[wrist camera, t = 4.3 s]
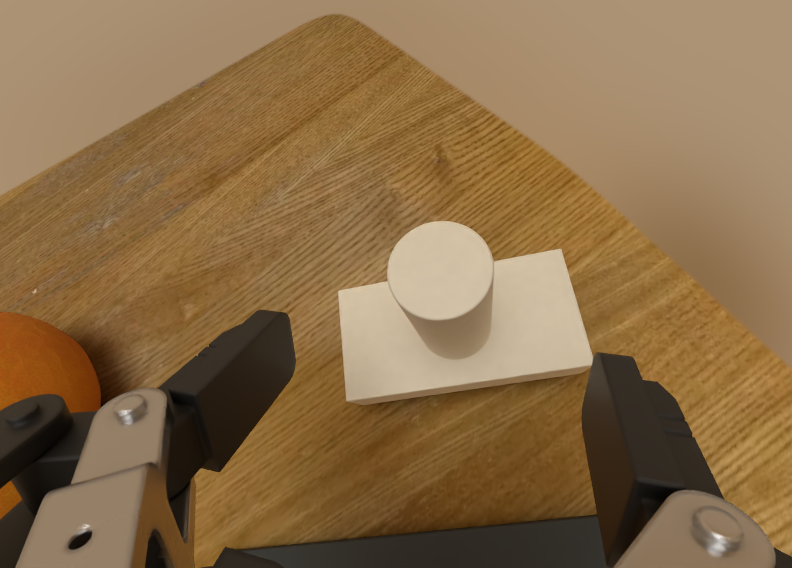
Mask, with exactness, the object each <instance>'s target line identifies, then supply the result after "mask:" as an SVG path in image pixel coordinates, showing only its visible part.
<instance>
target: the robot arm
mask: <svg viewBox="0 0 792 568" xmlns="http://www.w3.org/2000/svg"><path fill="white" fill-rule="evenodd" d="M295 363H296V358H295V351H294V345H293V338H292V332H291V325H290V320H289V317H288V315H287V314H286V313H283V312H275V311H267V310H258V311H256V312H255V313H254V314H253V315H252V316H251V317H249V318H248V319H247V320H246V321H245V322H244V323H243V324H241V325H238V326H236V327H234V328H232V329H230V330H228V331H226V332H224V333H222V334H221V335H220V336H218V337H217V338H216V339H215V340H214V341H213V342H211V343H210V344H209V347H206V348H204V349H203V350H202V351H201V352H200V353H199V354H198V356H195V357H194V358H193V359H192V360H190V361H189V362H188V363H187V364H186V365H184V366H183V367H182V368H181V369H180V370H179V371H177V372H176V373H175V374H174V375H173V376H172V377H170V378H169V379H168V380H167V381H166V382H165V383H163V384H162V385H161V386H160V387H159V388H158V389H156V388H141V389H136V390H132V391H129V392H126V393H124V394H121V395H119V396H117V397H115V398H113V399H112V400H110V401H109V402H107V403H106V404H105V405H103V406H102V407H101V408H100V409H99V410H98V411H89V412H75V413H70V411H69V409H68V407H67V405H66V403H65V401H64V399H63V398H62V397H61V396H59V395H56V394H43V395H37V396H33V397H29V398H26V399H23V400H20V401H18V402H16V403H13V404H11V405H9V406H7V407H6V408H4V409H2V410H1V411H0V489H1V488H2V487H3V486H5V485H6V484H7V483H8V482H9V481H11V482H12V483H13V485H14V486H15V488H16V490H17V491H18V493H19V495H20V496H21V498H22V500H21V501H20V502H19V503H18V504H17V505H16V506H15V507H14V508H12V509H11V510H10V511H9V512H8V513H7V514H6V515H5V516H3V517H2V518H1V519H0V568H195V563H194V531H195V498H196V483H195V480H194V477H193V476H194V475H195V474H196V473H197V472H198V470H199V469H200V468H203V469H207V470H212V471H216V472H220V471H221V470H222V469H223V467H224V466H225V465H226V464H227V462H228V461H229V460H230V458H231V457H232V456H233V454H234V453H235V452H236V450H237V449H238V448H239V447H240V445H241V444H242V443H243V441H244V440H245V439H246V437H247V436H248V435H249V433H250V432H251V431H252V429H253V428H254V427H255V426H256V424H257V423H258V422H259V420H260V419H261V418H262V416H263V415H264V414H265V412H266V411H267V410H268V409H269V407H270V406H271V405H272V403H273V402H274V401H275V399H276V398H277V397H278V395H279V394H280V393H281V392H282V390H283V389H284V388H285V386H286V385H287V384H288V382H289V381H290V380H291V378H292V376H293V373H294V370H295ZM684 419H685V417H684V415H683V413H682V411H681V409H680V407H679V405H678V403H677V401H676V399H675V398H674V397H673V396H672V395H671V394H670V393H668V392H667V391H666V390H665V389H664V388H663V387H662V386H661V385H660V384H659V383H658V382H653V381H646V380H642V377H641V375H640V372H639V370H638V367H637V365H636V363H635V360H634V358H633V357H631V356H623V355H615V354H607V353H599V352H597V353H596V354H595V356H594V358H593V362H592V366H591V371H590V375H589V380H588V384H587V388H586V393H585V397H584V402H583V407H582V431H583V436H584V442H585V448H586V453H587V459H588V464H589V470H590V476H591V481H592V487H593V492H594V498H595V504H596V509H597V515H598V521H599V526H600V532H601V537H602V543H603V549H604V554H605V560H606V565H607V566H608V567H612V568H792V557H791V556H789V555H787V554H785V553H783V552H781V551H779V550H777V549H776V548H774V547H773V546H772V544H771V542H770V540H769V538H768V537H767V535H766V534H765V532H764V531H763V530H762V529H761V528H760V526H759V525H758V524H757V523H756V522H755V521H754V520H753V519H752V518H751V517H749V516H748V515H747V514H746V513H744V512H743V511H742V510H740V509H739V508H737V507H736V506H734V505H733V504H731V503H729V502H727V501H726V500H724V498H723V495H722V493H721V491H720V489H719V487H718V485H717V483H716V481H715V479H714V477H713V475H712V473H711V471H710V469H709V467H708V465H707V463H706V461H705V459H704V456H703V454H702V452H701V450H700V448H699V446H698V444H697V442H696V440H695V438H693V437H692V432H691V430H690V428H689V426H688V424H687V422H685V420H684ZM203 568H285V567H283V566H282V565H280V564H279V563H277V562H276V561H272V560H269V559H265V558H262V557H258V556H255V555H251V554H248V553H244V552H241V551H237V550H234V549H231V548H227V547H225V548H224V550H223V551H222V553H221V554H220V556H219V558H218V559H217V561H216V562H215V564H214V565H213V566H209V567H203Z"/></svg>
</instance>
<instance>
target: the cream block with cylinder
mask: <svg viewBox="0 0 792 568" xmlns="http://www.w3.org/2000/svg"><path fill="white" fill-rule="evenodd" d="M387 280H388V281H387V282H381V283H376V284H371V285H366V286H360V287H355V288H350V289H344V290H339V291H338V298H339V311H340V325H341V338H342V352H343V365H344V379H345V392H346V401H347V402H351V403H355V404H360V405H368V404H374V403H381V402H388V401H395V400H402V399H409V398H416V397H423V396H429V395H436V394H443V393H450V392H457V391H464V390H471V389H478V388H484V387H491V386H498V385H505V384H512V383H519V382H526V381H533V380H540V379H546V378H553V377H560V376H567V375H574V374H581V373H583V372H584V371H586V370H587V369H589V368H590V367H591V366H592V362H593V355H592V352H591V349H590V345H589V342H588V338H587V335H586V332H585V328H584V325H583V321H582V318H581V315H580V311H579V308H578V304H577V301H576V298H575V294H574V291H573V287H572V284H571V281H570V277H569V274H568V270H567V267H566V263H565V260H564V257H563V253H562V250H561V249H557V250H551V251H546V252H541V253H535V254H530V255H525V256H519V257H514V258H509V259H503V260H498V261H493V257H492V254H491V251H490V249H489V247H488V245H487V244H486V242H485V241H484V240H483V239H482V237H481V236H480V235H478V234H477V233H476V232H475V231H473V230H472V229H470V228H468V227H466V226H464V225H462V224H459V223H455V222H449V221H436V222H430V223H426V224H423V225H421V226H418V227H416V228H415V229H413V230H411V231H410V232H408V233H407V234H406V235H405V236H404V237H402V239H401V240H400V241H399V242H398V243H397V245H396V246H395V248H394V249H393V251H392V253H391V256H390V258H389V262H388V267H387Z"/></svg>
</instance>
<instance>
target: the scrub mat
mask: <svg viewBox="0 0 792 568" xmlns="http://www.w3.org/2000/svg"><path fill="white" fill-rule="evenodd" d="M237 551H241V552H244V553H248V554H251V555H255V556H258V557H262V558H265V559H269V560H272V561H276V562H277V563H279V564H280V565H282V566H283V567H285V568H612V567H608V566H607V565H606V560H605V554H604V549H603V543H602V537H601V532H600V526H599V521H598V515H591V516H580V517H570V518H560V519H550V520H539V521H529V522H519V523H509V524H498V525H488V526H478V527H468V528H457V529H447V530H437V531H426V532H416V533H406V534H396V535H385V536H375V537H365V538H355V539H344V540H334V541H324V542H314V543H303V544H293V545H283V546H272V547H262V548H252V549H242V550H237Z"/></svg>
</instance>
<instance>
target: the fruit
mask: <svg viewBox="0 0 792 568" xmlns="http://www.w3.org/2000/svg"><path fill="white" fill-rule="evenodd" d="M43 394H56V395H59V396H61V397H62V398H63V399H64V401H65V403H66V405H67V407H68V409H69V411H70V413H75V412H89V411H98V410H99V409H100V405H101V392H100V385H99V381H98V377H97V375H96V372H95V369H94V367H93V365H92V363H91V361H90V359H89V357H88V356H87V354H86V353H85V351H84V350H83V348H82V347H81V346H80V345H79V344H78V343H77V342H76V341H75V340H73V339H72V338H71V337H70V336H68V335H67V334H65V333H64V332H62V331H61V330H59V329H57V328H55V327H54V326H52V325H50V324H48V323H46V322H44V321H41V320H38V319H35V318H32V317H29V316H25V315H21V314H16V313H10V312H0V411H1V410H2V409H4V408H6V407H7V406H9V405H11V404H13V403H16V402H18V401H20V400H23V399H26V398H29V397H33V396H37V395H43ZM21 500H22V498H21V496H20V495H19V493H18V491H17V490H16V488H15V486H14V485H13V483H12V482H11V481H9V482H8V483H7V484H6V485H5V486H3V487H2V488H1V489H0V519H1V518H2V517H3V516H5V515H6V514H7V513H8V512H9V511H10V510H11V509H12V508H14V507H15V506H16V505H17V504H18V503H19V502H20V501H21Z"/></svg>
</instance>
